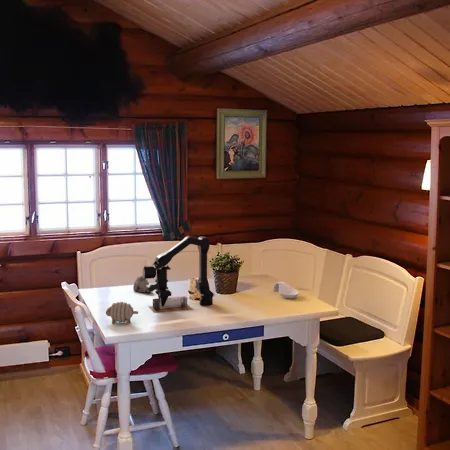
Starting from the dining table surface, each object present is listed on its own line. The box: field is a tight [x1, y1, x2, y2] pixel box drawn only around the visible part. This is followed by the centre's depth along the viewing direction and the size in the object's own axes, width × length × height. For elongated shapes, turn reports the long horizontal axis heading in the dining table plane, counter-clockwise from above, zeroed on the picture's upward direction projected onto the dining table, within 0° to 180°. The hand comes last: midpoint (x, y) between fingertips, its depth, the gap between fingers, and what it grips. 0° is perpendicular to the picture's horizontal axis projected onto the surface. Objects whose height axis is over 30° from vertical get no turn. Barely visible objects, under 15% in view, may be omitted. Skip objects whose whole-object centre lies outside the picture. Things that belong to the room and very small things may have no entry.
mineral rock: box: [132, 275, 154, 293], centre depth 395 cm, size 13×11×10 cm
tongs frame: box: [152, 295, 188, 308], centre depth 357 cm, size 19×3×5 cm, turn 109°
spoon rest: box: [272, 281, 300, 300], centre depth 390 cm, size 24×12×7 cm, turn 21°
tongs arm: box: [154, 296, 184, 310], centre depth 355 cm, size 17×2×5 cm, turn 111°
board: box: [148, 303, 194, 314], centre depth 356 cm, size 22×14×1 cm, turn 109°
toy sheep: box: [105, 301, 139, 325], centre depth 331 cm, size 11×17×11 cm, turn 88°
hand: (161, 305), depth 355 cm, fingers open, 4 cm apart
